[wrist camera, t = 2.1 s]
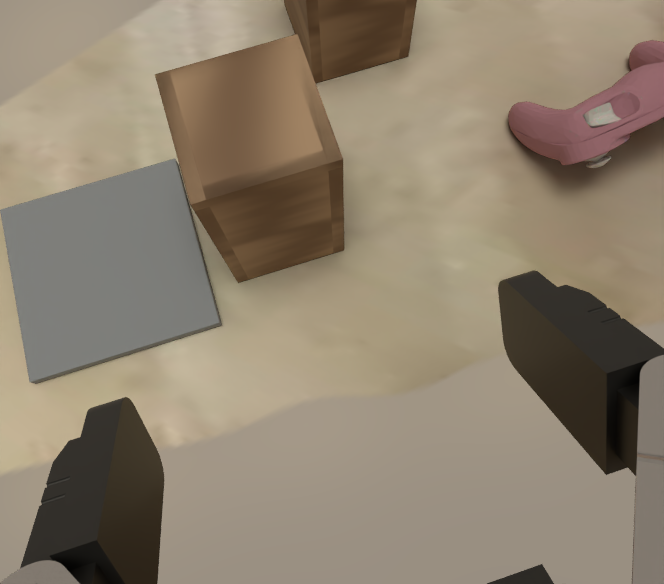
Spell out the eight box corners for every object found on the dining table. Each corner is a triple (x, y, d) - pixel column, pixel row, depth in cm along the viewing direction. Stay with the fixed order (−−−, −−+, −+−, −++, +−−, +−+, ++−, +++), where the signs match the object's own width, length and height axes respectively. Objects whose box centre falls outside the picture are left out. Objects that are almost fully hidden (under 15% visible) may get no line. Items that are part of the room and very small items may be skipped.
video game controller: (523, 185, 34) (598, 179, 28) (495, 112, 33) (565, 87, 27) (661, 115, 35) (766, 92, 29) (637, 42, 34) (740, 1, 28)
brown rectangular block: (311, 156, 33) (297, 34, 24) (344, 250, 32) (343, 159, 22) (210, 186, 33) (154, 74, 23) (238, 282, 31) (190, 204, 22)
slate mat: (177, 163, 33) (174, 158, 33) (222, 325, 31) (219, 322, 30) (6, 214, 33) (0, 209, 32) (35, 383, 30) (29, 382, 30)
